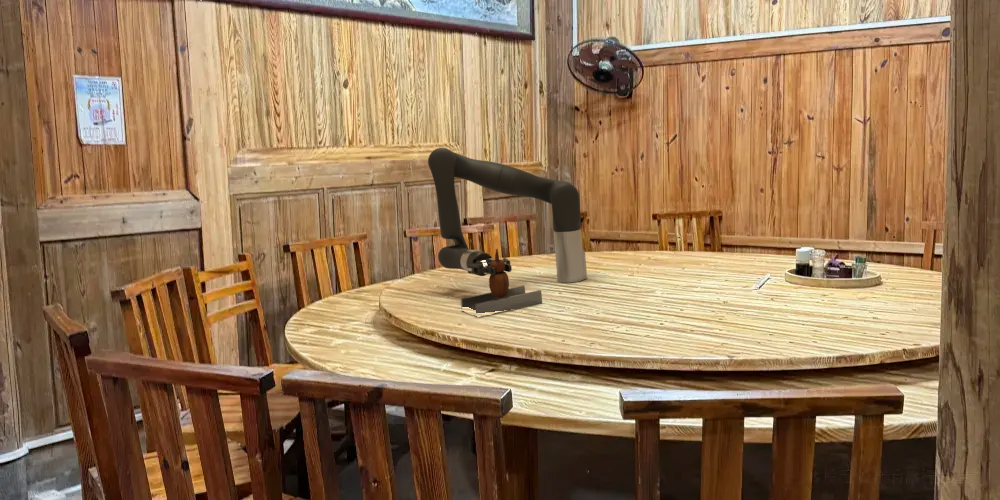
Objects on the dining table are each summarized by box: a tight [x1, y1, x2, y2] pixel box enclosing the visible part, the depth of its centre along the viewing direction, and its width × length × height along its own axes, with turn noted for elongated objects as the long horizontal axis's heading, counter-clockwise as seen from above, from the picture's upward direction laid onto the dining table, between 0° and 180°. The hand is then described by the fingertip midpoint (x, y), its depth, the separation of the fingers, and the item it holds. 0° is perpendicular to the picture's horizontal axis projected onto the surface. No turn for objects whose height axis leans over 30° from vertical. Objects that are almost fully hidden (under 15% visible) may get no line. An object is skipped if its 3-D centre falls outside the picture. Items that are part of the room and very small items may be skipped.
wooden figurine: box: [488, 248, 510, 297], centre depth 253 cm, size 7×6×15 cm
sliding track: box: [460, 285, 543, 313], centre depth 255 cm, size 22×11×4 cm, turn 118°
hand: (502, 270), depth 251 cm, fingers closed on wooden figurine, 4 cm apart
